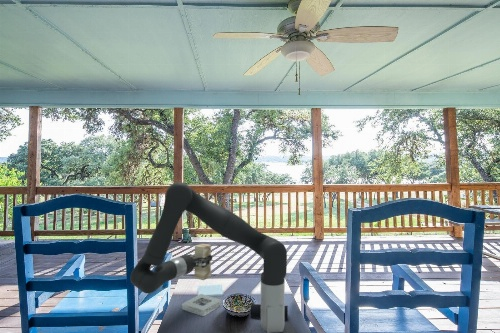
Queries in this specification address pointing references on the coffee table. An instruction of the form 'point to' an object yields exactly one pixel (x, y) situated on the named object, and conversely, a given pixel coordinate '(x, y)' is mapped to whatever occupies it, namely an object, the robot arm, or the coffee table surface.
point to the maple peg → (203, 251)
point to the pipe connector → (256, 311)
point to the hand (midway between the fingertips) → (206, 256)
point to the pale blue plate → (211, 290)
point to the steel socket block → (197, 309)
